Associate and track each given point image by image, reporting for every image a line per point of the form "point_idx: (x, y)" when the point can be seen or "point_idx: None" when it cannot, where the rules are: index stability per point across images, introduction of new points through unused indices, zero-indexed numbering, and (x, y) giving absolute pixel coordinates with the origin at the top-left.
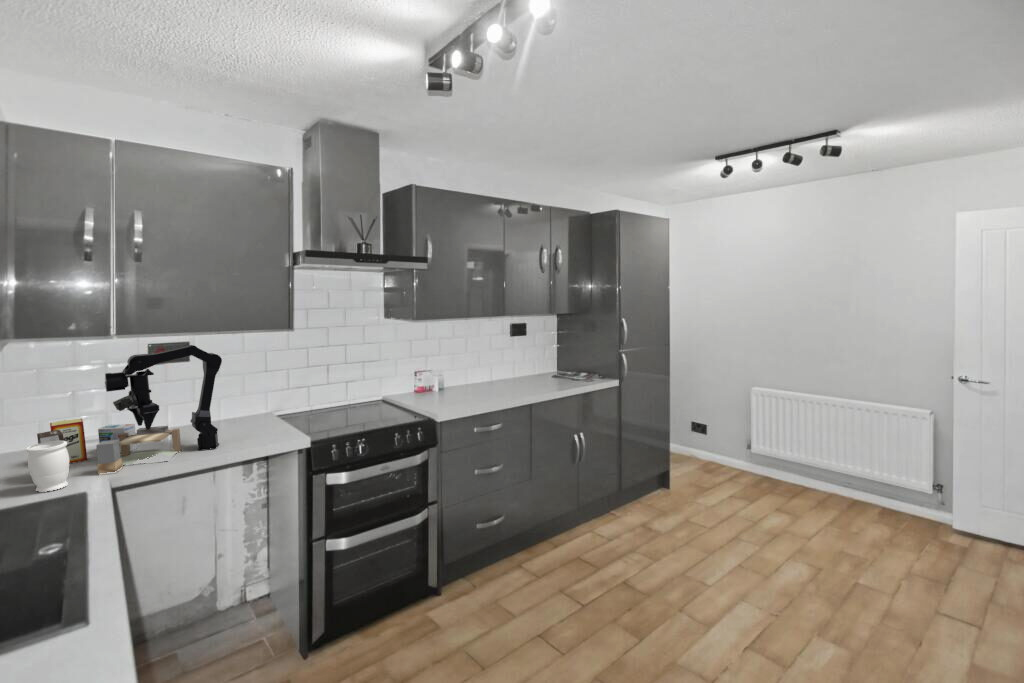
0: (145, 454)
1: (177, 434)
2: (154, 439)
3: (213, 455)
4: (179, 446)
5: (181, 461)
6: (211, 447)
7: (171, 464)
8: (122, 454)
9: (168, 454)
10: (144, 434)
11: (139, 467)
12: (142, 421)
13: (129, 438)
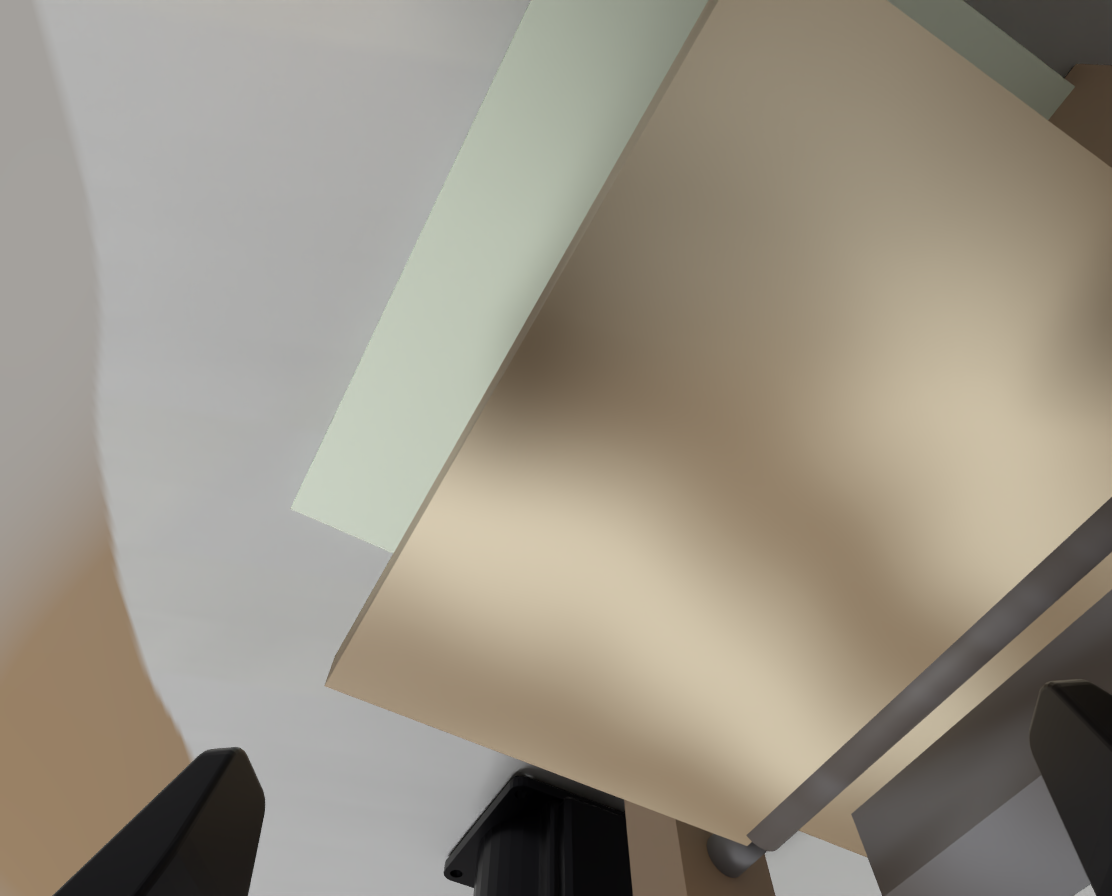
0: None
1: (630, 867)
2: (406, 623)
3: None
4: None
5: (204, 598)
6: (476, 861)
7: (143, 506)
8: (1107, 80)
9: None
10: (1045, 568)
11: (268, 188)
12: (1104, 889)
13: (1033, 271)
